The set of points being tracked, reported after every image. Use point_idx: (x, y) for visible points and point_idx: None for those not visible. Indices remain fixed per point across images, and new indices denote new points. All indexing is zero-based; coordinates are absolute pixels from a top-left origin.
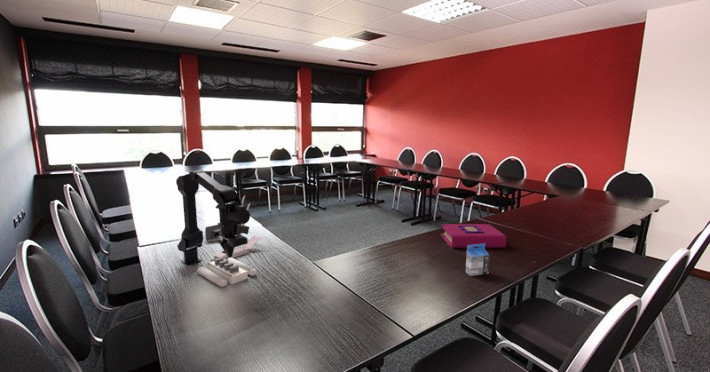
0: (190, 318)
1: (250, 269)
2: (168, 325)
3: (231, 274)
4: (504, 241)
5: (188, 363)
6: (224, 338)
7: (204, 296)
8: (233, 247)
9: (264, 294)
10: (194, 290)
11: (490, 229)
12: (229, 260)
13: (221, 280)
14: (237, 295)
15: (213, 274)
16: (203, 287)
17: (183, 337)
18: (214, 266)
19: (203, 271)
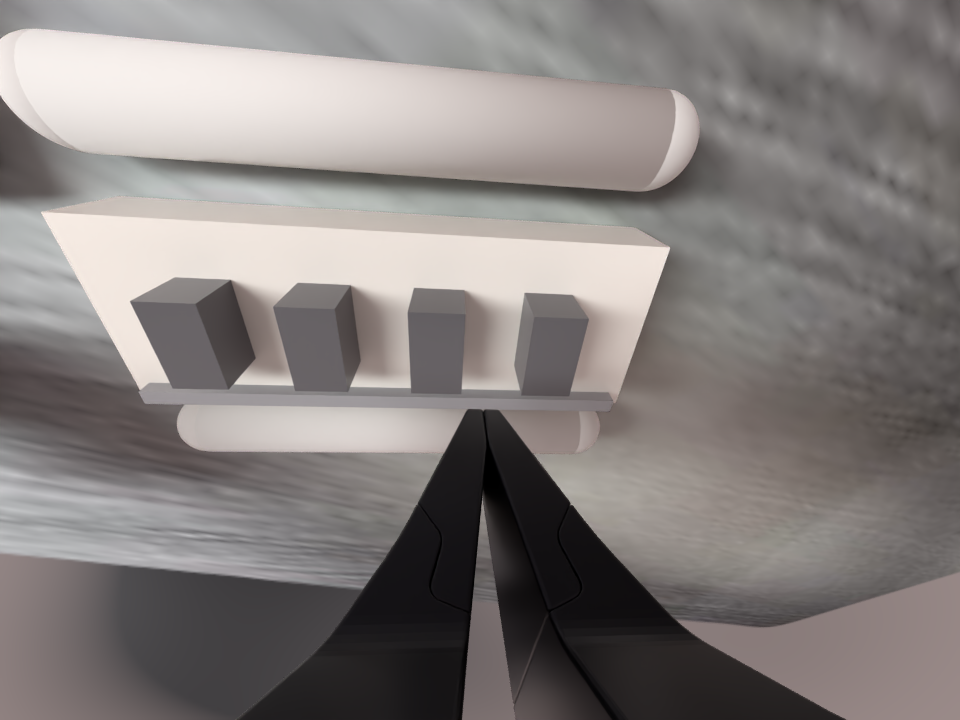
0: (665, 568)
1: (644, 167)
2: None
3: (576, 379)
4: None
5: (820, 611)
6: (867, 552)
7: (571, 500)
8: (607, 577)
9: (922, 310)
10: None
11: None
12: (128, 147)
13: (577, 451)
14: (735, 412)
15: (438, 446)
16: None
17: (727, 597)
18: (311, 406)
19: (305, 451)
